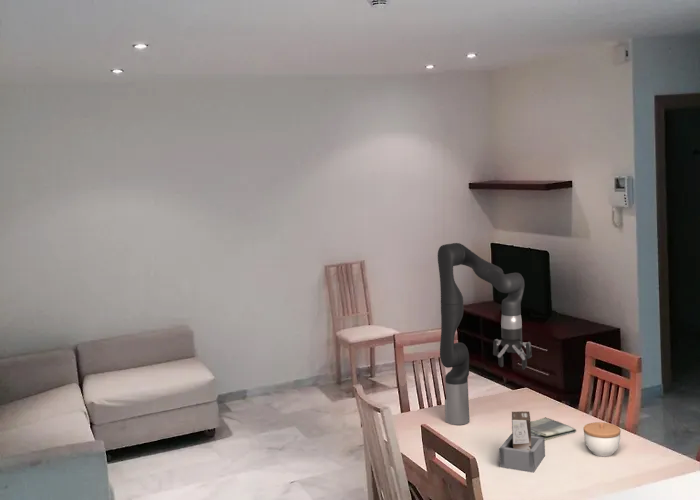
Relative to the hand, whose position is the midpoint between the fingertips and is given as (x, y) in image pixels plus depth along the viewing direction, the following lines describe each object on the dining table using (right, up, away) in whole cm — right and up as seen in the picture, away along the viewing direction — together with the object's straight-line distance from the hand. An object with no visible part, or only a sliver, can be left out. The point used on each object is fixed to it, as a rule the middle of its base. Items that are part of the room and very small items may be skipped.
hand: (512, 367), depth 268 cm
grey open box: (0, -31, -15) cm, 35 cm away
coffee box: (0, -30, -15) cm, 34 cm away
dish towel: (+15, -28, +13) cm, 34 cm away
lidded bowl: (+30, -29, -12) cm, 43 cm away
